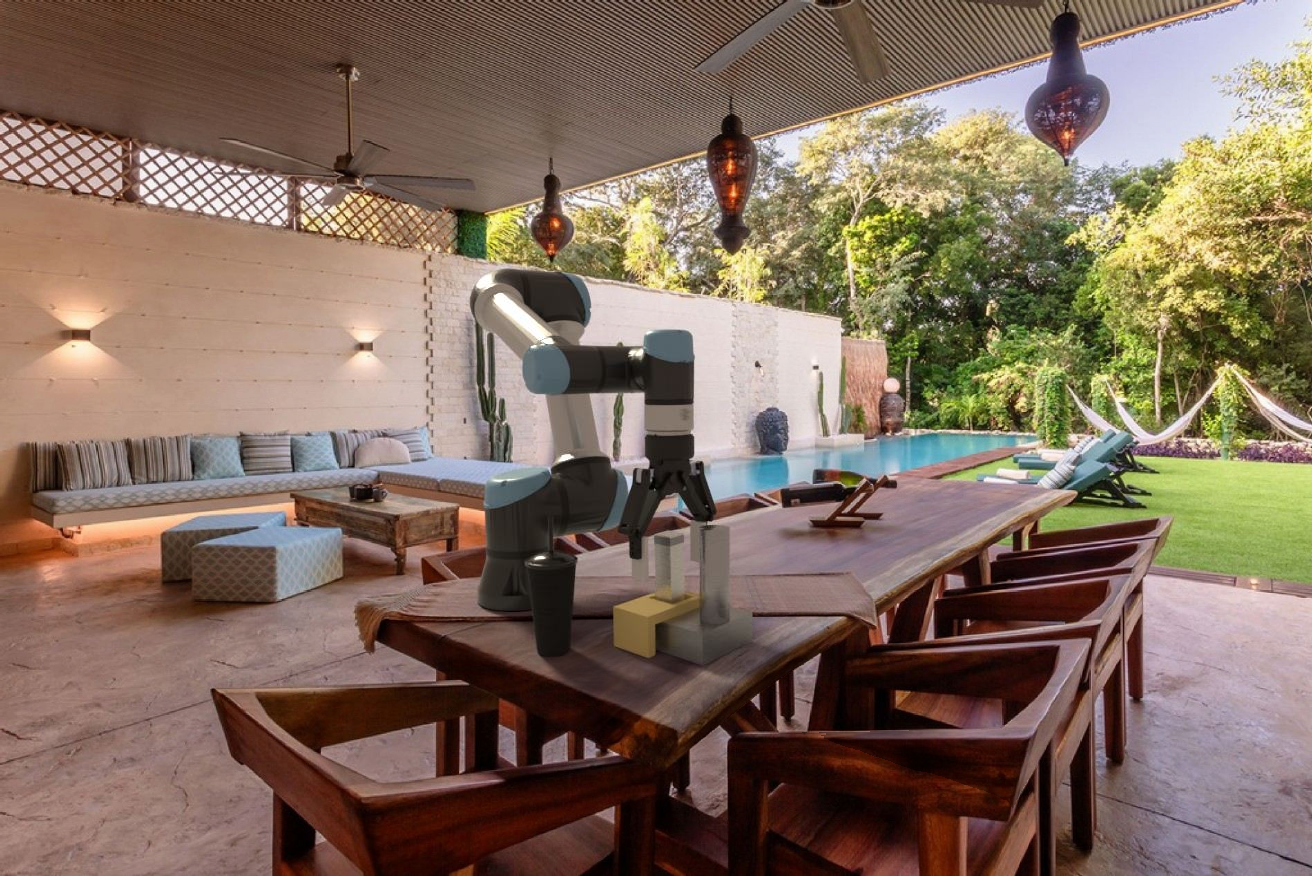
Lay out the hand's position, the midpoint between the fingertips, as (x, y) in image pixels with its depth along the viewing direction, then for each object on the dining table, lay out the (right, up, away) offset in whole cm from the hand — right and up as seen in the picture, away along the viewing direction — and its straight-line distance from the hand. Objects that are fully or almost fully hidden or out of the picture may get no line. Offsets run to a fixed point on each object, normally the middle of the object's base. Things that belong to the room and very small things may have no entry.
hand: (670, 570), depth 109 cm
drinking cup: (-17, -11, -5) cm, 21 cm away
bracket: (-2, -10, -1) cm, 10 cm away
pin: (0, -10, +1) cm, 10 cm away
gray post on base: (+2, -10, -1) cm, 11 cm away
